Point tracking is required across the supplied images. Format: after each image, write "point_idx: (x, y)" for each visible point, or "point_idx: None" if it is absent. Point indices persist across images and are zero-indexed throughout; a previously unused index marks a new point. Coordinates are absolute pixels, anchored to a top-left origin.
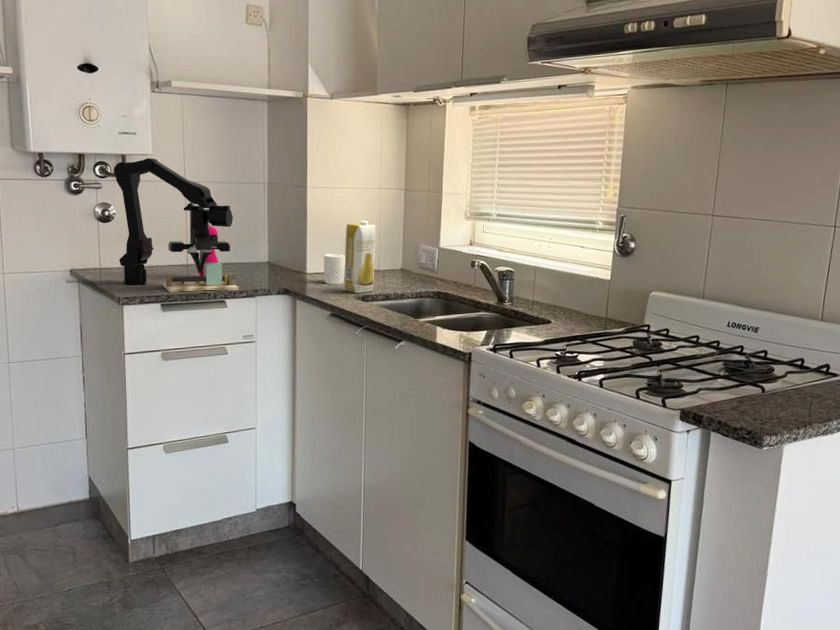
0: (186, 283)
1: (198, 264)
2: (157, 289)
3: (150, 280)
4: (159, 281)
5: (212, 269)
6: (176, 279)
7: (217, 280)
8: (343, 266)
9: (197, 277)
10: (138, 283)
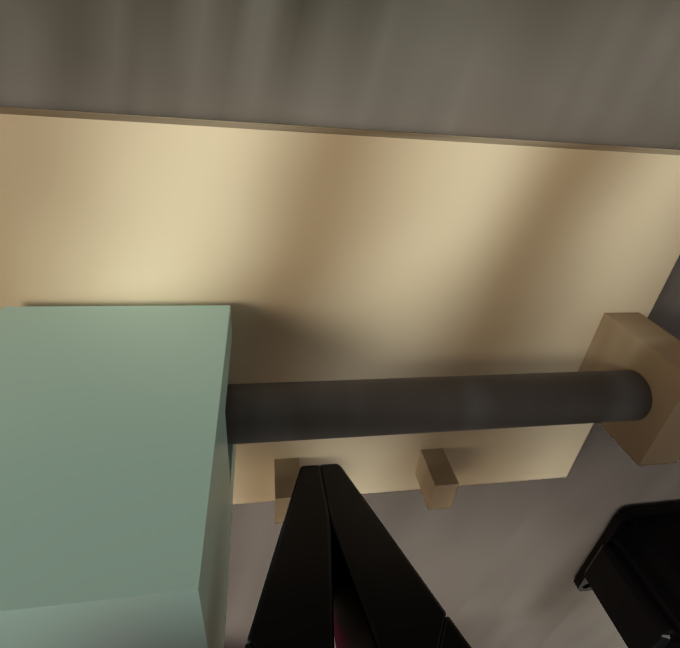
0: (397, 453)
1: (386, 597)
2: (673, 335)
3: (511, 606)
4: (481, 587)
5: (71, 481)
6: (593, 383)
7: (49, 340)
8: None
9: (342, 417)
10: (666, 509)
